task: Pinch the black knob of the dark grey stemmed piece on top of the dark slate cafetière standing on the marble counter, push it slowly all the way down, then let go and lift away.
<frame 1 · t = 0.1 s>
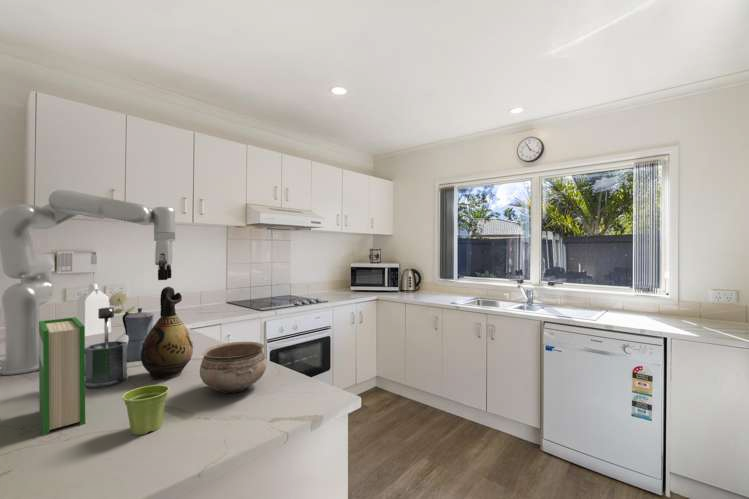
hand: (164, 279, 143), 31 cm above the counter, fingers open, 9 cm apart
hardback book: (61, 418, 89), on the counter
cooking pot: (234, 389, 107), on the counter
dark grey stemmed piece: (106, 330, 114), point 17 cm above the counter, slide at 0.0 cm
plant pot: (146, 429, 83), on the counter
milk: (93, 333, 186), on the counter
ceramic jug: (167, 374, 121), on the counter
carafe: (106, 382, 114), on the counter
flower in vase: (127, 345, 159), on the counter
moka pot: (137, 358, 140), on the counter
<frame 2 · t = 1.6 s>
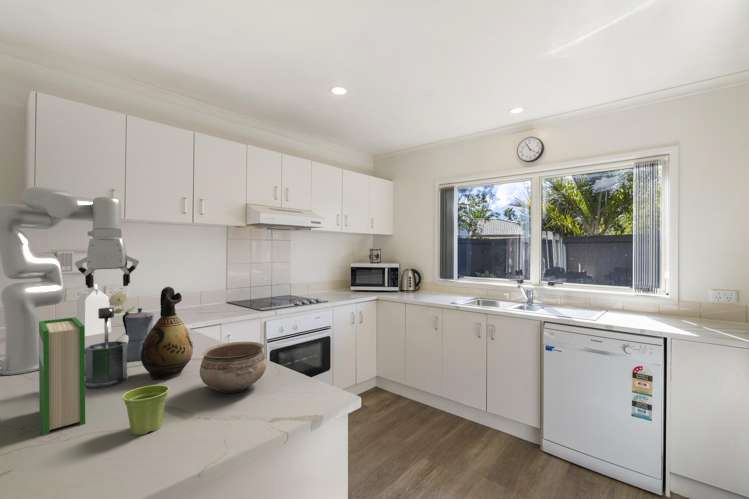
hand: (108, 286, 116), 31 cm above the counter, fingers open, 9 cm apart
nothing on the counter moved.
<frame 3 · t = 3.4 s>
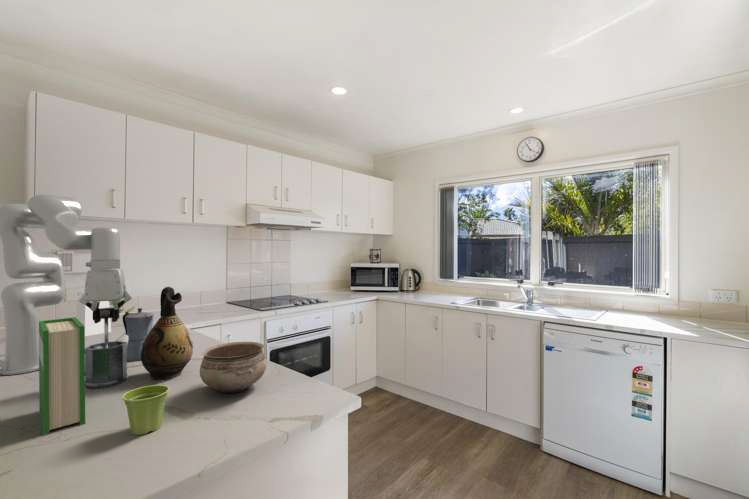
hand: (106, 321, 114), 20 cm above the counter, fingers closed on dark grey stemmed piece, 4 cm apart
dark grey stemmed piece: (106, 330, 114), point 17 cm above the counter, slide at 0.0 cm, touching gripper
everything else where it was.
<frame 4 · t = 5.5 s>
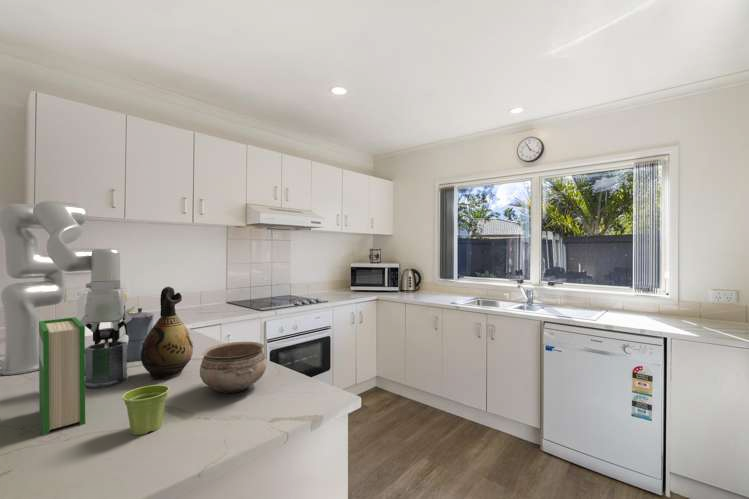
hand: (106, 342, 114), 13 cm above the counter, fingers closed on dark grey stemmed piece, 4 cm apart
dark grey stemmed piece: (106, 351, 114), point 10 cm above the counter, slide at 6.8 cm, touching gripper
everything else where it was.
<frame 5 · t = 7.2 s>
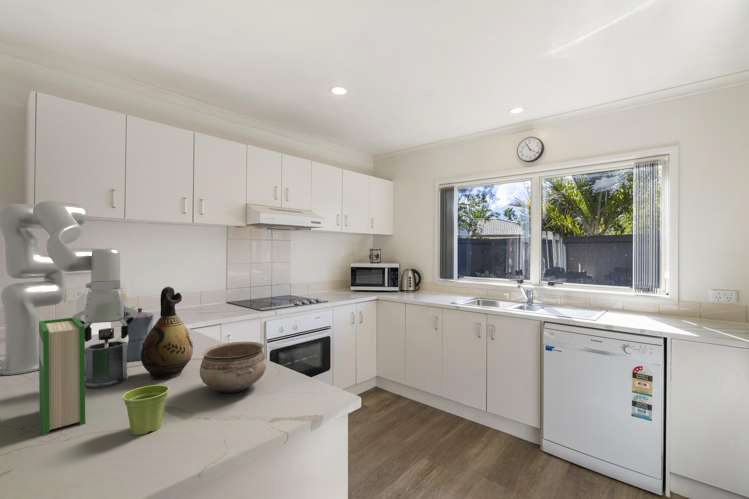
hand: (106, 339, 114), 14 cm above the counter, fingers open, 9 cm apart
dark grey stemmed piece: (106, 351, 114), point 10 cm above the counter, slide at 6.8 cm
everything else where it was.
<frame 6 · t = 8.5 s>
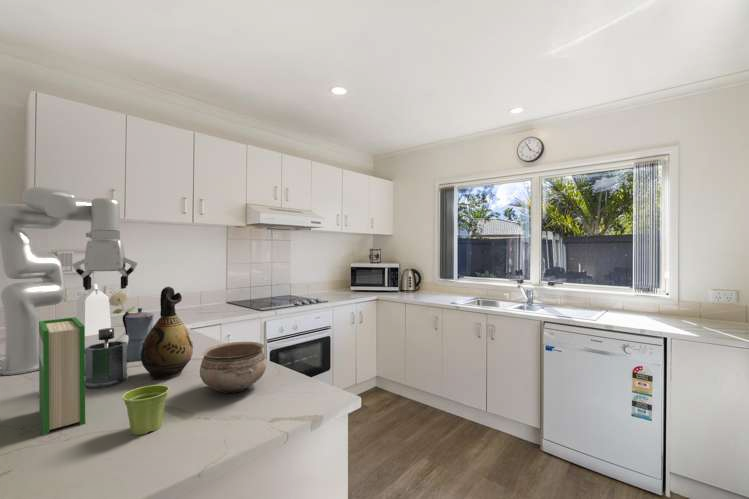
hand: (106, 288, 114), 30 cm above the counter, fingers open, 9 cm apart
nothing on the counter moved.
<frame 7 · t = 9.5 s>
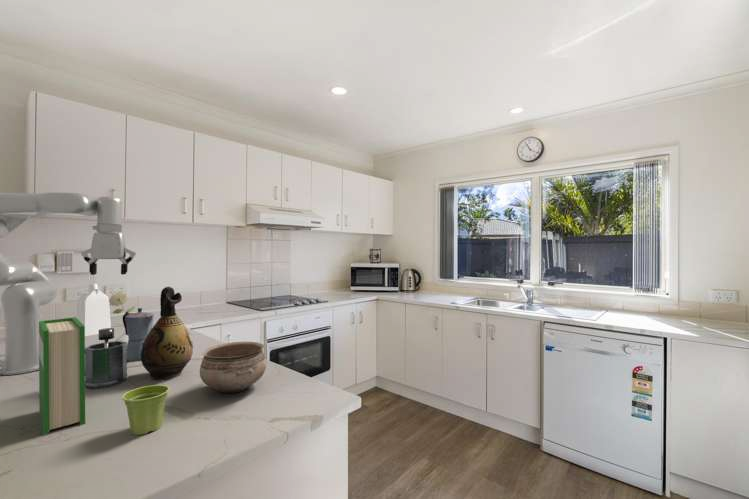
hand: (108, 274, 133), 34 cm above the counter, fingers open, 9 cm apart
nothing on the counter moved.
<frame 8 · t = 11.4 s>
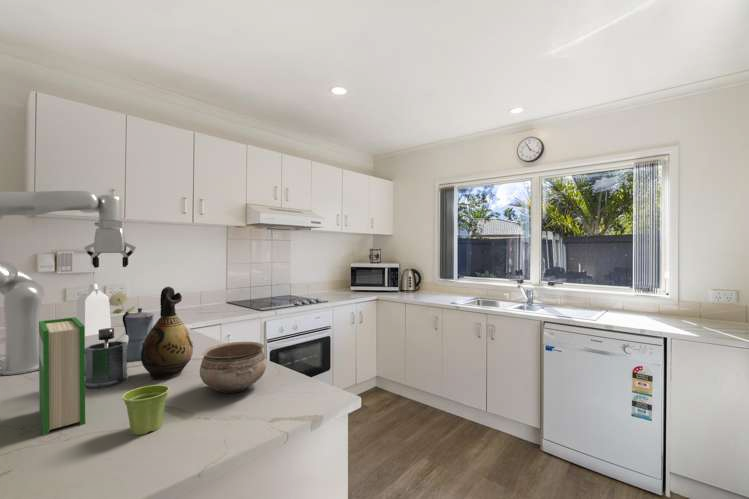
hand: (110, 267, 143), 36 cm above the counter, fingers open, 9 cm apart
nothing on the counter moved.
at the end: dark grey stemmed piece slide at 6.8 cm; the gripper is holding nothing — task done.
